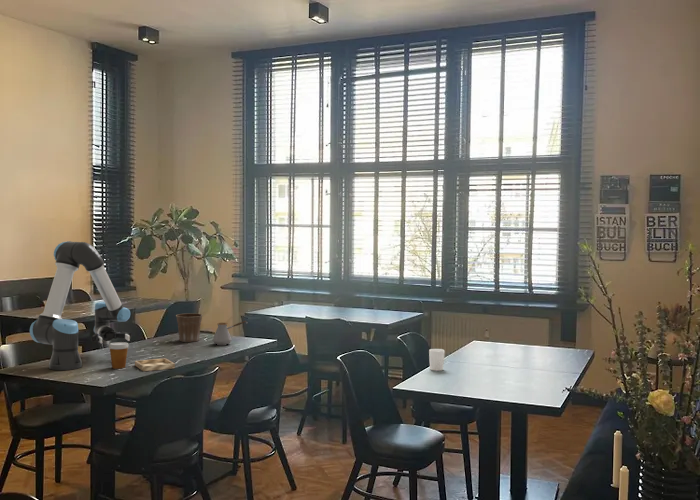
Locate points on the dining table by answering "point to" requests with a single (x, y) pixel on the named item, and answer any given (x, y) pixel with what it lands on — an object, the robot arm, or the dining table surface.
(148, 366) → the oak tray
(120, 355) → the disposable coffee cup
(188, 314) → the plant pot
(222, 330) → the coffee pot
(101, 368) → the dining table surface
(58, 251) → the robot arm
